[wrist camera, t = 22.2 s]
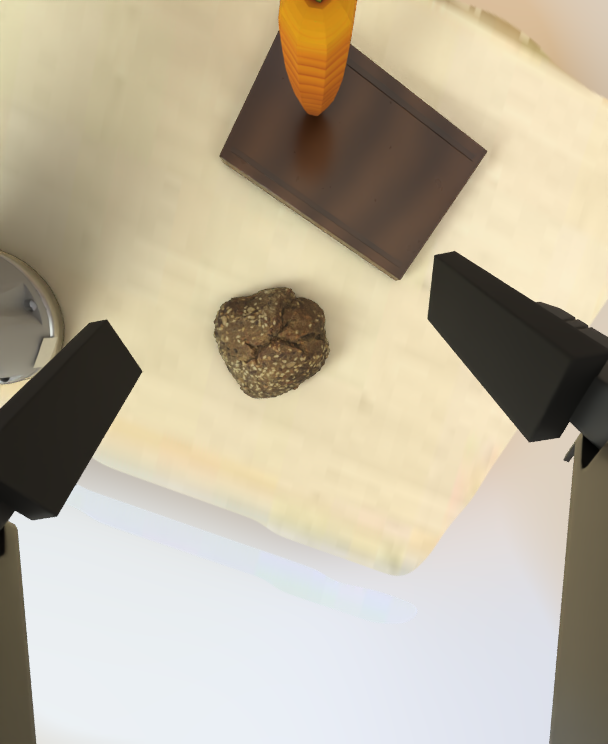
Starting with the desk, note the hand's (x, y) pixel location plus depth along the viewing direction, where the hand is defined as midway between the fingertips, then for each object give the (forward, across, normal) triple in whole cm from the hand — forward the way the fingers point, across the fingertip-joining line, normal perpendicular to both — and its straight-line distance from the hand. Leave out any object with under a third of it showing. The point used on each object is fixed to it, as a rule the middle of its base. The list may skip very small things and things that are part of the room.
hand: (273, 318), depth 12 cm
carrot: (+26, +5, +7) cm, 27 cm away
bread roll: (+19, -3, -13) cm, 23 cm away
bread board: (+25, +8, +3) cm, 27 cm away
